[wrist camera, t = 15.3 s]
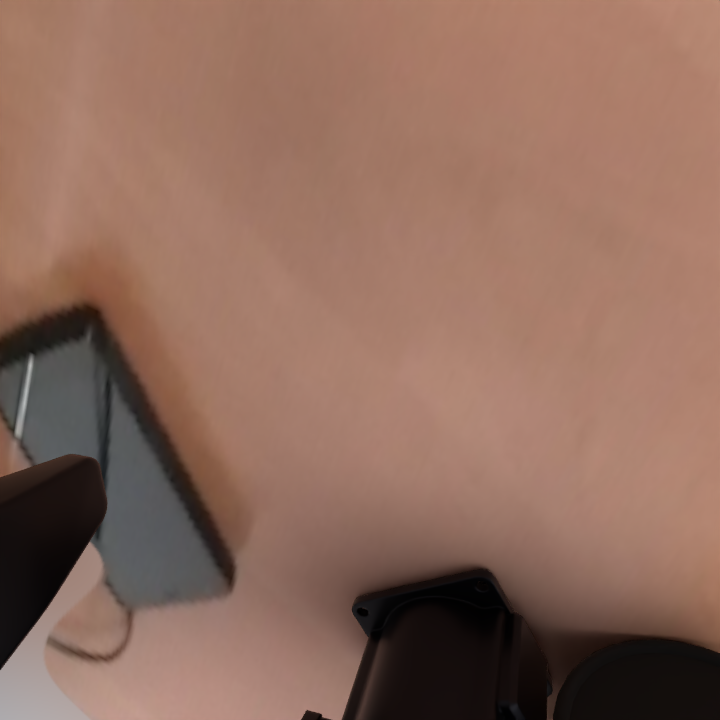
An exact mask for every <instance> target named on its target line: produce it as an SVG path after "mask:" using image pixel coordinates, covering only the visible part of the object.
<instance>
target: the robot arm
mask: <svg viewBox="0 0 720 720" xmlns="http://www.w3.org/2000/svg"><path fill="white" fill-rule="evenodd" d="M106 511H107V497H106V492H105V487H104V483H103V478H102V473H101V468H100V465H99V463H98V462H97V460H96V459H94V458H92V457H87V456H81V455H76V454H68V455H65V456H62V457H59V458H56V459H53V460H50V461H47V462H44V463H41V464H38V465H35V466H33V467H30V468H27V469H24V470H21V471H18V472H15V473H12V474H9V475H6V476H3V477H0V670H1V668H2V667H3V666H4V665H5V663H6V662H7V661H8V659H9V658H10V657H11V656H12V654H13V653H14V652H15V650H16V649H17V647H18V646H19V645H20V644H21V642H22V641H23V640H24V638H25V637H26V636H27V634H28V633H29V632H30V631H31V629H32V628H33V627H34V625H35V624H36V623H37V621H38V620H39V619H40V617H41V616H42V614H43V613H44V612H45V610H46V609H47V608H48V606H49V605H50V603H51V602H52V600H53V598H54V597H55V596H56V594H57V592H58V591H59V589H60V588H61V586H62V584H63V583H64V581H65V580H66V578H67V577H68V575H69V573H70V572H71V570H72V569H73V567H74V565H75V564H76V562H77V561H78V559H79V557H80V556H81V554H82V553H83V551H84V549H85V548H86V546H87V545H88V543H89V542H90V540H91V538H92V537H93V535H94V534H95V532H96V530H97V529H98V527H99V526H100V524H101V522H102V521H103V519H104V517H105V514H106ZM479 581H483V582H485V583H487V584H481V583H479ZM363 608H365V609H367V610H365V609H363ZM352 612H353V615H354V616H355V618H356V619H357V621H358V622H359V624H360V625H361V627H362V629H363V630H364V632H365V633H366V635H367V636H368V641H367V644H366V648H365V651H364V654H363V657H362V660H361V663H360V666H359V669H358V672H357V675H356V678H355V681H354V684H353V687H352V690H351V693H350V696H349V699H348V702H347V705H346V708H345V711H344V714H343V717H342V720H547V696H550V695H551V694H552V691H553V682H552V678H551V676H550V675H549V673H548V671H547V660H546V658H545V656H544V655H543V653H542V651H541V649H540V647H539V646H538V644H537V642H536V640H535V638H534V637H533V635H532V633H531V631H530V629H529V627H528V626H527V624H526V622H525V620H524V618H523V617H522V616H521V615H519V614H518V613H515V612H514V610H513V608H512V607H511V605H510V603H509V601H508V599H507V598H506V596H505V594H504V592H503V590H502V589H501V587H500V585H499V583H498V581H497V580H496V578H495V576H494V575H493V574H492V573H491V572H489V571H488V570H484V569H477V570H473V571H468V572H464V573H460V574H455V575H451V576H447V577H442V578H438V579H433V580H429V581H425V582H420V583H416V584H412V585H407V586H403V587H398V588H394V589H390V590H385V591H381V592H377V593H372V594H368V595H363V596H360V597H357V598H356V599H355V601H354V604H353V606H352ZM301 720H331V719H327V718H323V717H322V714H320V713H316V712H312V711H308V710H307V711H306V712H305V714H304V716H303V717H302V719H301Z"/></svg>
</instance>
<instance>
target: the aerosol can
mask: <svg viewBox="0 0 720 720" xmlns="http://www.w3.org/2000/svg"><path fill="white" fill-rule="evenodd" d="M553 720H720V653H717V652H715V651H712V650H709V649H706V648H704V647H700V646H696V645H691V644H687V643H683V642H678V641H668V640H657V639H651V640H632V641H628V642H623V643H618V644H614V645H611V646H609V647H606V648H604V649H601V650H599V651H597V652H595V653H593V654H592V655H590V656H589V657H587V658H586V659H584V660H583V661H582V662H580V663H579V664H578V665H577V666H576V667H575V669H574V670H573V671H572V672H571V673H570V674H569V675H568V676H567V678H566V680H565V682H564V684H563V686H562V688H561V690H560V692H559V694H558V697H557V701H556V705H555V709H554V714H553Z"/></svg>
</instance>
